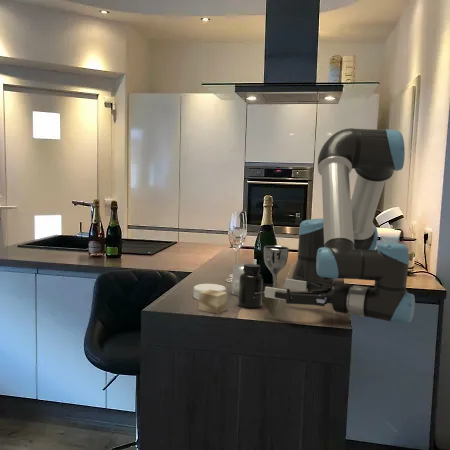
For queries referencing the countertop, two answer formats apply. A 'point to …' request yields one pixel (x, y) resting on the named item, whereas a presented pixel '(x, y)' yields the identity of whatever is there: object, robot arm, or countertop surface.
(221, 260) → the countertop surface
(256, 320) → the countertop surface
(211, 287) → the brie cheese wheel
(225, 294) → the maple block
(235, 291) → the frosted glass cup
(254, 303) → the supplement bottle
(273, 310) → the countertop surface
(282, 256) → the wine glass
